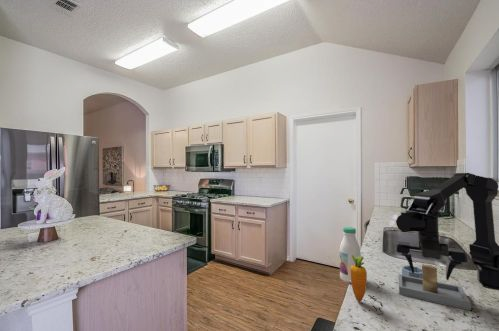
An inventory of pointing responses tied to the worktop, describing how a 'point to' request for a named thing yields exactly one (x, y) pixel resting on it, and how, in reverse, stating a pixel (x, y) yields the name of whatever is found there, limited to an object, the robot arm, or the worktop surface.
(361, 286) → the carrot
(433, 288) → the wooden pin
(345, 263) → the milk bottle
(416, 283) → the tray
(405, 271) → the blue-grey socket block
